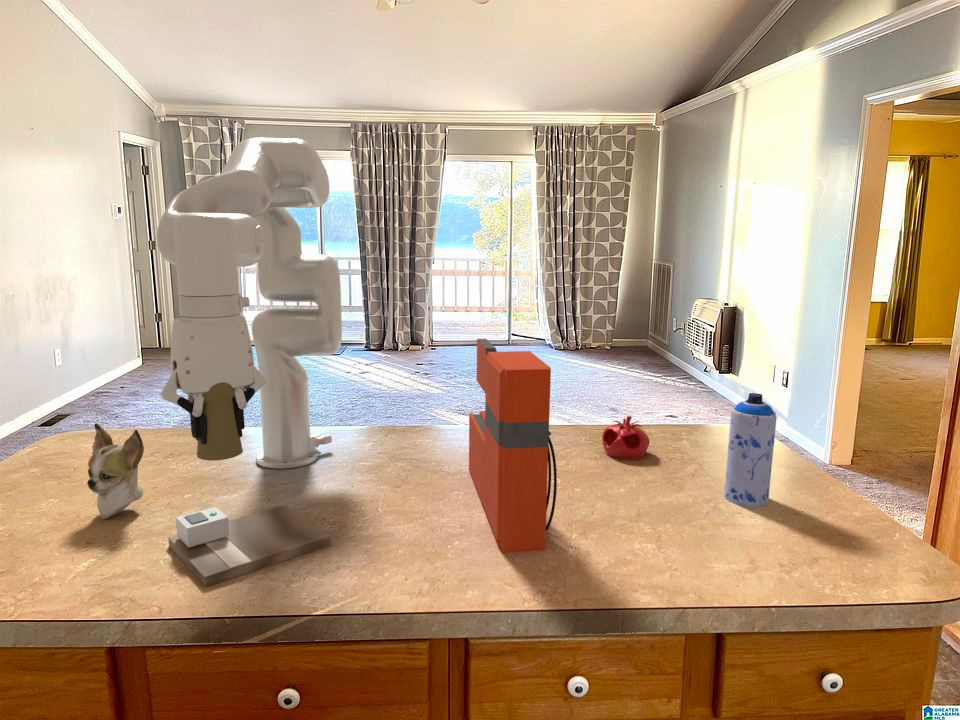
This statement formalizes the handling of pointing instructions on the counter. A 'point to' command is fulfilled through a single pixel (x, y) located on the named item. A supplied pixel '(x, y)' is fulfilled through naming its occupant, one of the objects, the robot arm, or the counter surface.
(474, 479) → the toy gas pump
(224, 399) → the olive pawn figure
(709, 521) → the counter surface
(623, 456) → the pomegranate
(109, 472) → the ceramic sculpture
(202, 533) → the white box with button
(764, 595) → the counter surface
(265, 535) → the board
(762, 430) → the aerosol can
